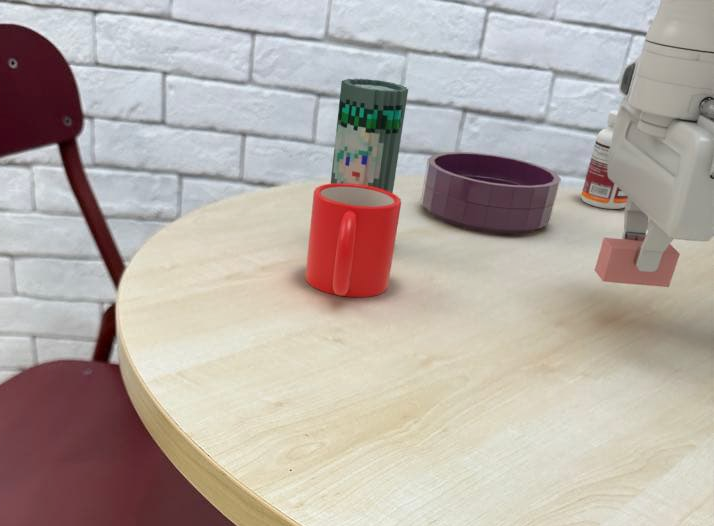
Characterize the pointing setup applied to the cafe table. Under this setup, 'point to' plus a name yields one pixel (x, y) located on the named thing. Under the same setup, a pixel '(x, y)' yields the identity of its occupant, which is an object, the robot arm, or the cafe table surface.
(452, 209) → the bowl
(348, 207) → the mug
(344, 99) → the can
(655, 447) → the cafe table surface
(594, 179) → the pill bottle
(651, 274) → the eraser
